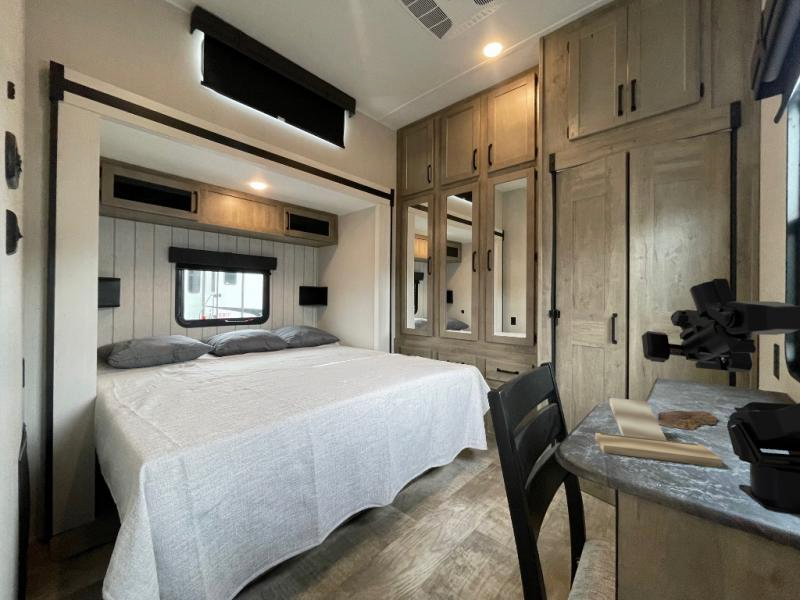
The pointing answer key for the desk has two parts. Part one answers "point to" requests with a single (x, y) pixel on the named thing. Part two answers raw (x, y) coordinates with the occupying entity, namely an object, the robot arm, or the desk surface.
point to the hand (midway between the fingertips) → (673, 362)
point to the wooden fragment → (686, 419)
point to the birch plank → (635, 419)
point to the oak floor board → (657, 449)
